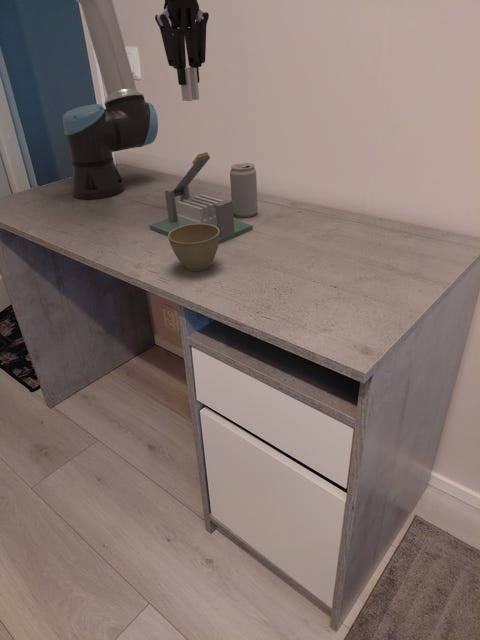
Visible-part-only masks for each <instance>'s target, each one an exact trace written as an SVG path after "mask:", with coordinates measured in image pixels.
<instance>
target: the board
mask: <svg viewBox="0 0 480 640" xmlns="http://www.w3.org/2000/svg"><path fill="white" fill-rule="evenodd" d="M189 188H190V187H189V185H188V186H187V187H186V188H185V189H184V191H183V194H182V195H179V197H180V200H179V201H177V202H176V197H175V196H174V191H173V190H174V189H170V188H167V189H165V190H164V196H165V202H166V203H165V204H166V210H167V217H168V218H165V219H163V220H159V221H158V222H154V223H151V224H149V229H150V230H152V231H154V232H156V233H159V234H162V235H165V236H167V237H168V234H169V233H170V232H171V231H172V230H174V229H175V228H178V227H180V226H184V225H189V224H198V223H202V224H210V225H214V226H216V227H217V228H219V230H220V236H219V244H218V245H220V244H223V243H225V242H227V241H229V240H232V239H234V238H237V237H239V236H242V235H244V234H246V233H248V232H251V231H253V229H254V228H253V227H254V226H253V225H252V224H249V223H246V222H242V221H239V220H236V219H234V218H235V217H234V213H233V201H232V199H231V200H230V199H225V200H223V199H219V198H216V197H213V196H208V195H205V194H202V193H200V194H198V196H197V195H194V196H193V197H191V196H190V189H189ZM176 203H177V205H176ZM177 207H178V214H177Z"/></svg>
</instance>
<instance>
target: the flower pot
mask: <svg viewBox="0 0 480 640" xmlns="http://www.w3.org/2000/svg"><path fill="white" fill-rule="evenodd" d="M219 236H220V230H219V228H217V227H216V226H214V225H210V224H202V223H198V224H189V225H184V226H180V227H178V228H175V229H174V230H172V231H171V232H170V233H169V234H168V236H167V237H168V241H169V244H170V246H171V249H172V251H173V253H174V254H175V256H176V258H177V260H178V261H179V262H180V263H181V264H182V266H183V267H184V268H185V269H186V270H188V271H192V272H202V271H205V270H208V269H209V267H210V266H211V265H212V264H213V261H214V259H215V257H216V254H217V252H218V247H219V245H220V244H219Z"/></svg>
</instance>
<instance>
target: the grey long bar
mask: <svg viewBox="0 0 480 640" xmlns="http://www.w3.org/2000/svg"><path fill="white" fill-rule="evenodd" d="M210 159H211V157H210V154H209V153H208V151H205V152H203V153H199V154H197V155H196V156H195V158H194V159H193V160H192V162H191V163H192V165H191V167H190V169H189V170H188V171H187V172H186V174H185V175H184V176H183V178H182V179H181V180H180V181H179V183H178V184H177V185H176V186H175V188H174V189H172V190H173V191H174V196H175V198H176V197H178V196H179V197H180V195H182V194H183V191H184V189H185V188H186V187H187V186H188V187H189V185H190V184H191V182H192V181H193V180H194V179H195V178H196V176H197V174H199V172H200V171H201V170H202V169H203V167H205V165H206V164H207V163H208V161H209V160H210Z"/></svg>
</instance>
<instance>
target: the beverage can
mask: <svg viewBox="0 0 480 640" xmlns="http://www.w3.org/2000/svg"><path fill="white" fill-rule="evenodd" d="M229 178H230V180H229V181H230V194H231V195H230V196H231V201H233V215H235V216H236V217H239V218H250V217H252V216H255V214H256V213H257V212H258V211H259V210H258V208H259V207H258V187H257V183H258V182H257V170H256V168H255V164H253V163H250V162H243V163H242V162H239V163H235V164H232V165H231V167H230V171H229Z"/></svg>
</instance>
